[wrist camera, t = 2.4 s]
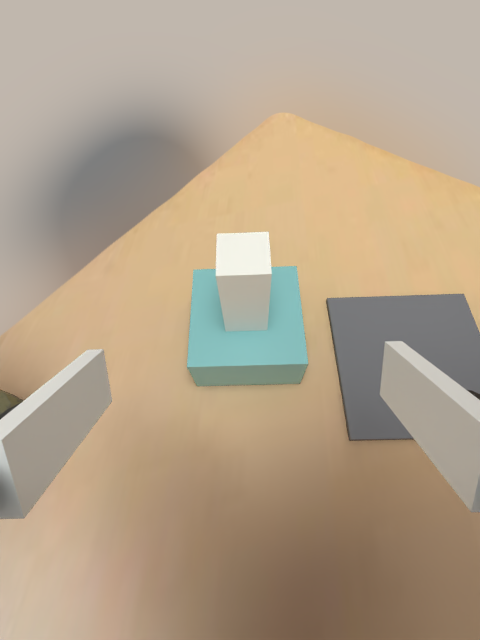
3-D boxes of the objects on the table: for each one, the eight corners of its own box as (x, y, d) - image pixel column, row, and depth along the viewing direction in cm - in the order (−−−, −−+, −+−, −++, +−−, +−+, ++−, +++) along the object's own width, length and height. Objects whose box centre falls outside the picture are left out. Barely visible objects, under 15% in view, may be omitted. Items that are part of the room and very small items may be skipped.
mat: (460, 296, 39) (463, 293, 38) (516, 437, 31) (521, 436, 31) (326, 300, 39) (327, 298, 39) (349, 440, 32) (350, 439, 31)
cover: (290, 296, 40) (309, 198, 26) (300, 383, 34) (328, 315, 21) (201, 299, 40) (175, 203, 27) (197, 386, 35) (162, 320, 22)
